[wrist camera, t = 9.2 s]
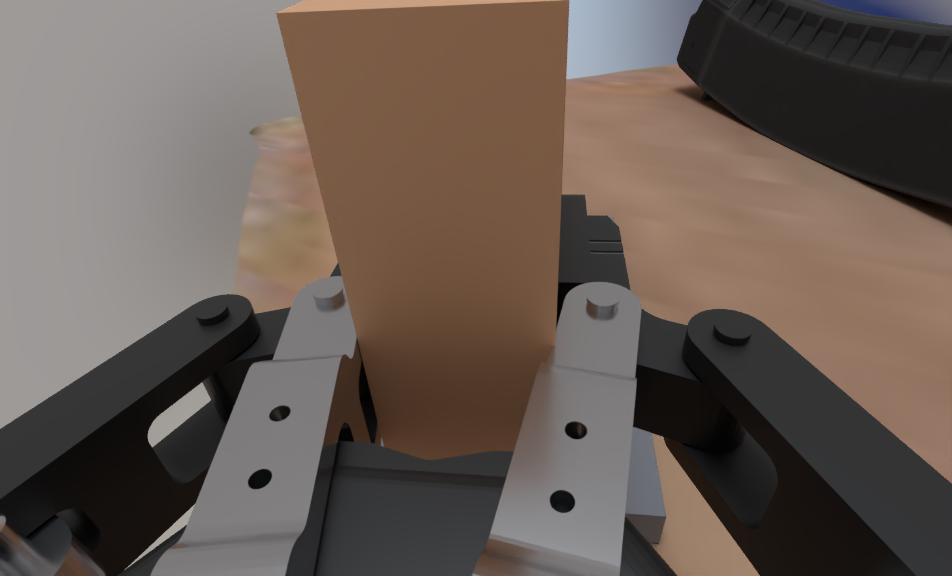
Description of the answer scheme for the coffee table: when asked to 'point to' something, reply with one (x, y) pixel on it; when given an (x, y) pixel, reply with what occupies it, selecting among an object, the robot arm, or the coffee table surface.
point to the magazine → (833, 86)
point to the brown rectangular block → (440, 201)
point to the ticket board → (643, 487)
